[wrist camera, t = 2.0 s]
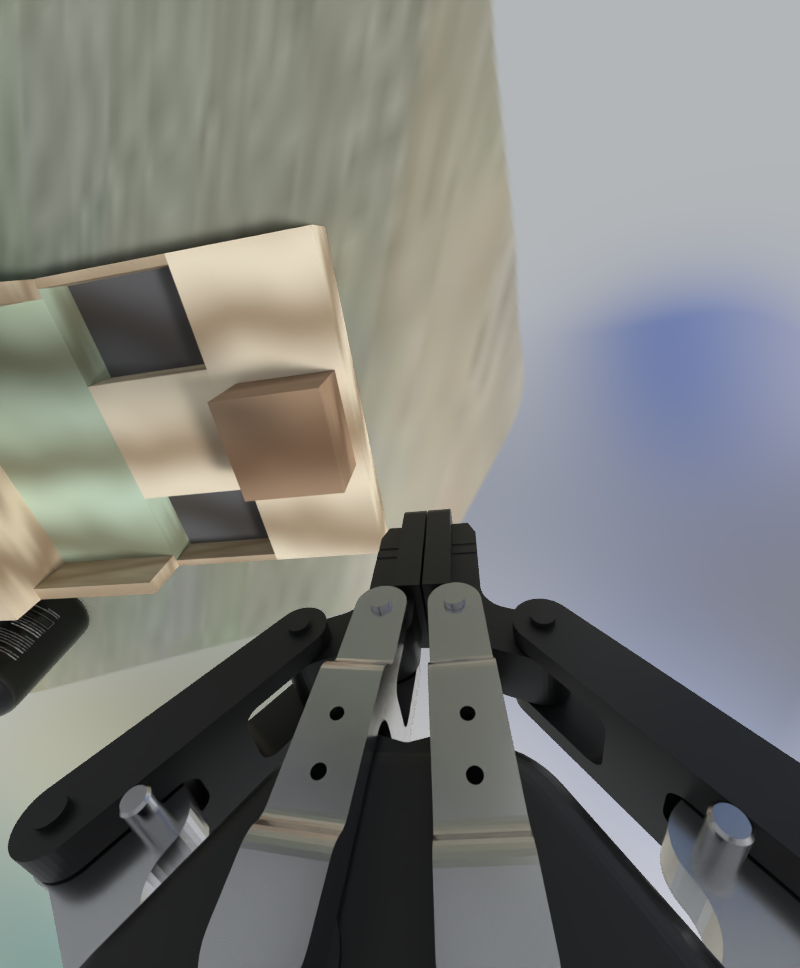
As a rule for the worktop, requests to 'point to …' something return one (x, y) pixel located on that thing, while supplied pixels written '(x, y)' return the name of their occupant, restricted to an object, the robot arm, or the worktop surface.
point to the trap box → (163, 417)
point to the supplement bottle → (36, 645)
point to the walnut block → (286, 436)
